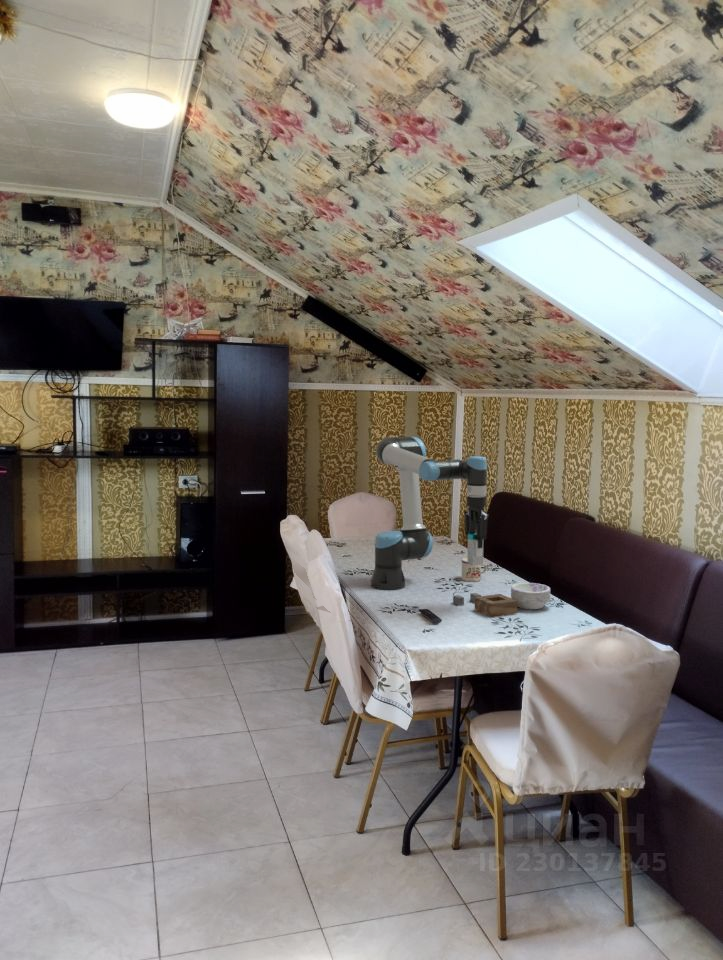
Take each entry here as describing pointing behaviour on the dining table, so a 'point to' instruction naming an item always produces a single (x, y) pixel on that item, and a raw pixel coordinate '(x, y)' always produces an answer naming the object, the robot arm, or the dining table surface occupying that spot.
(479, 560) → the plug
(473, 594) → the pair of grey prisms
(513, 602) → the port
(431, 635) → the dining table surface
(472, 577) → the teacup with lid
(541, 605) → the white floral bowl
